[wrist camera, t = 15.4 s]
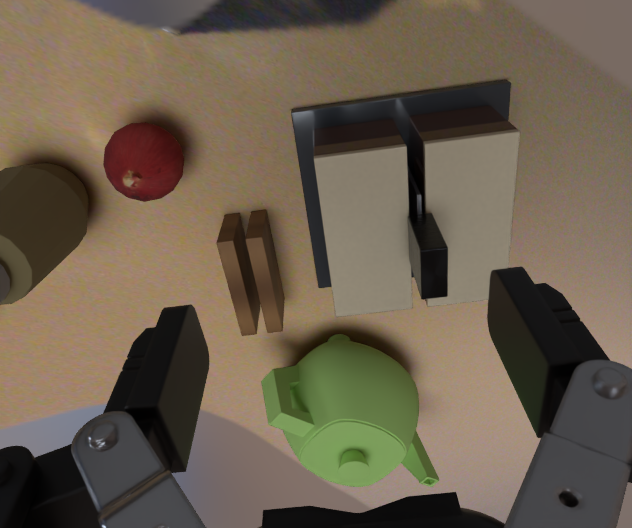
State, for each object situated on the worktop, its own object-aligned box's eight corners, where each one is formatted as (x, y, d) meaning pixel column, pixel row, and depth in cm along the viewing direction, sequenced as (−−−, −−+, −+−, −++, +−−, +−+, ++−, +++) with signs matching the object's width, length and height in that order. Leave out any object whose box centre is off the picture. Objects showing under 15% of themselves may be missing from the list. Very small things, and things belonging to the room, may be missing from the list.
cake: (291, 108, 41) (288, 140, 34) (506, 79, 40) (545, 105, 33) (318, 282, 50) (320, 333, 43) (494, 261, 49) (522, 310, 42)
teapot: (454, 373, 57) (488, 473, 46) (379, 439, 62) (394, 541, 52) (305, 291, 50) (305, 385, 40) (237, 373, 56) (220, 474, 45)
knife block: (224, 214, 46) (216, 242, 41) (266, 209, 45) (262, 237, 41) (247, 303, 51) (241, 336, 47) (284, 299, 51) (282, 331, 46)
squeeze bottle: (17, 231, 46) (-125, 374, 31) (-5, 145, 42) (-183, 262, 27) (108, 237, 47) (12, 381, 31) (95, 153, 42) (-23, 272, 27)
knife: (392, 160, 42) (419, 230, 32) (414, 157, 42) (448, 226, 32) (396, 233, 46) (422, 317, 36) (416, 231, 46) (447, 314, 36)
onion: (186, 186, 44) (164, 230, 37) (118, 168, 43) (83, 211, 36) (197, 121, 41) (175, 157, 34) (124, 101, 40) (87, 134, 33)
